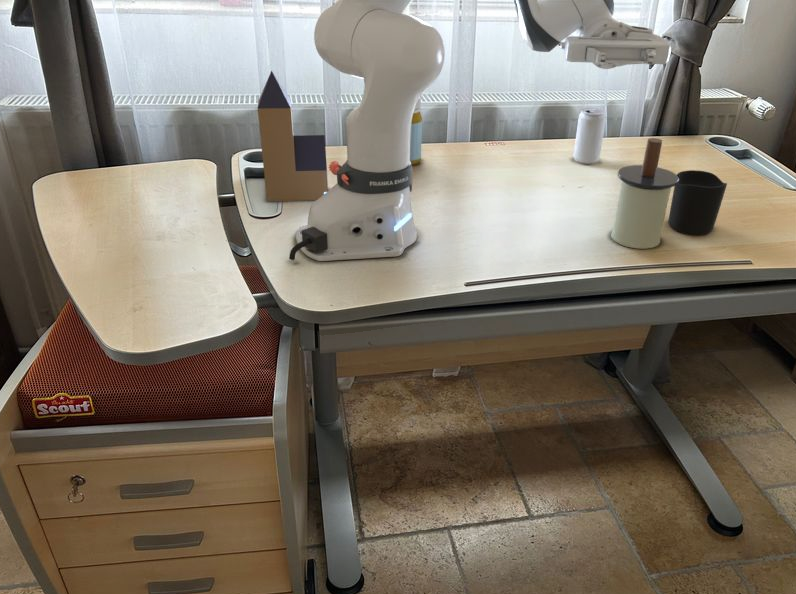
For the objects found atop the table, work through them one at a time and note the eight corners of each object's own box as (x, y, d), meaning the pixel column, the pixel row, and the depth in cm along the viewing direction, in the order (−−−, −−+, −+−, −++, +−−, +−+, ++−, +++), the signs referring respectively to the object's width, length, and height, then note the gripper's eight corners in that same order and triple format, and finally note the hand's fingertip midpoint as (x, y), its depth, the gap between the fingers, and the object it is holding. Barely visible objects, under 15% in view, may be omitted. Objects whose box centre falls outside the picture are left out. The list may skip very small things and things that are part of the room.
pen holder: (719, 224, 145) (732, 176, 139) (708, 240, 138) (721, 191, 133) (672, 214, 149) (683, 167, 143) (660, 229, 142) (670, 180, 136)
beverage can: (568, 157, 177) (574, 107, 170) (591, 155, 179) (599, 106, 172) (580, 165, 172) (587, 115, 165) (603, 164, 174) (612, 113, 167)
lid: (641, 191, 125) (649, 152, 121) (605, 171, 134) (612, 134, 130) (690, 185, 129) (699, 146, 125) (653, 165, 137) (660, 129, 133)
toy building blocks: (267, 201, 147) (254, 74, 134) (269, 170, 163) (257, 53, 149) (328, 199, 149) (321, 74, 136) (324, 168, 165) (318, 53, 151)
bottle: (425, 164, 169) (426, 99, 161) (397, 167, 167) (397, 101, 159) (414, 155, 175) (416, 91, 166) (387, 157, 172) (387, 93, 164)
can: (661, 251, 133) (675, 189, 127) (610, 245, 135) (622, 184, 128) (658, 231, 141) (671, 172, 134) (610, 226, 142) (621, 167, 136)
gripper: (558, 26, 142) (574, 39, 130) (659, 28, 143) (683, 42, 132) (554, 59, 145) (569, 75, 134) (653, 62, 147) (676, 78, 135)
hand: (626, 59), depth 133 cm, fingers open, 8 cm apart
